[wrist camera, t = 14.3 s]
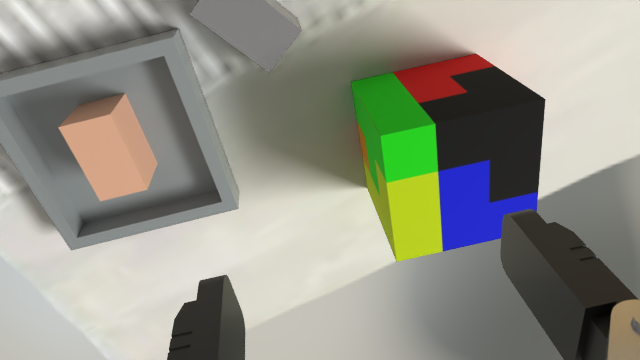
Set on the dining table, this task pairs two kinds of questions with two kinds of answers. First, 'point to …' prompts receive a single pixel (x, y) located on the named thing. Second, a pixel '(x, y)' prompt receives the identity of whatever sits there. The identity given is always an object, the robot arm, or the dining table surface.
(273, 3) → the charcoal brick
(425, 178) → the puzzle toy
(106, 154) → the terracotta brick
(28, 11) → the dining table surface
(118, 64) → the slate tray
